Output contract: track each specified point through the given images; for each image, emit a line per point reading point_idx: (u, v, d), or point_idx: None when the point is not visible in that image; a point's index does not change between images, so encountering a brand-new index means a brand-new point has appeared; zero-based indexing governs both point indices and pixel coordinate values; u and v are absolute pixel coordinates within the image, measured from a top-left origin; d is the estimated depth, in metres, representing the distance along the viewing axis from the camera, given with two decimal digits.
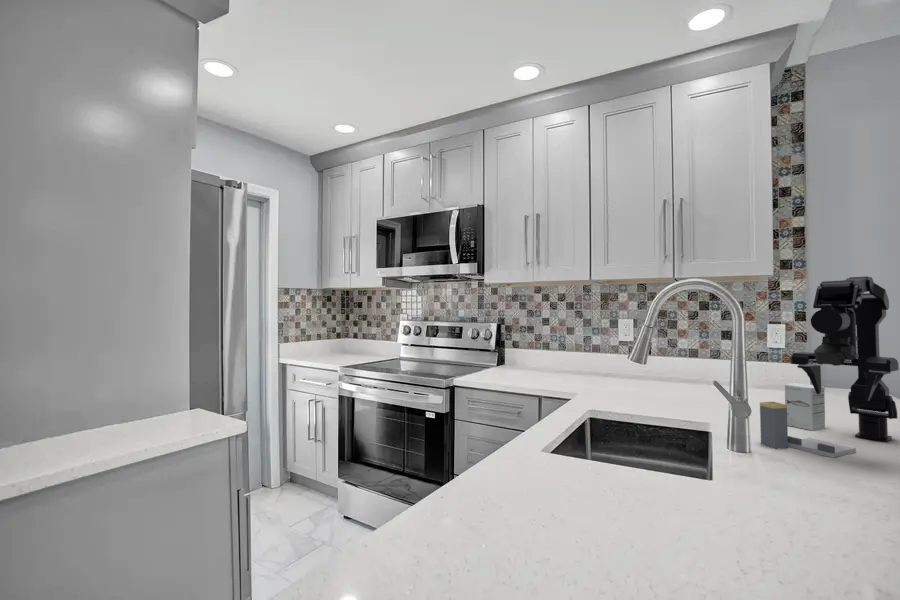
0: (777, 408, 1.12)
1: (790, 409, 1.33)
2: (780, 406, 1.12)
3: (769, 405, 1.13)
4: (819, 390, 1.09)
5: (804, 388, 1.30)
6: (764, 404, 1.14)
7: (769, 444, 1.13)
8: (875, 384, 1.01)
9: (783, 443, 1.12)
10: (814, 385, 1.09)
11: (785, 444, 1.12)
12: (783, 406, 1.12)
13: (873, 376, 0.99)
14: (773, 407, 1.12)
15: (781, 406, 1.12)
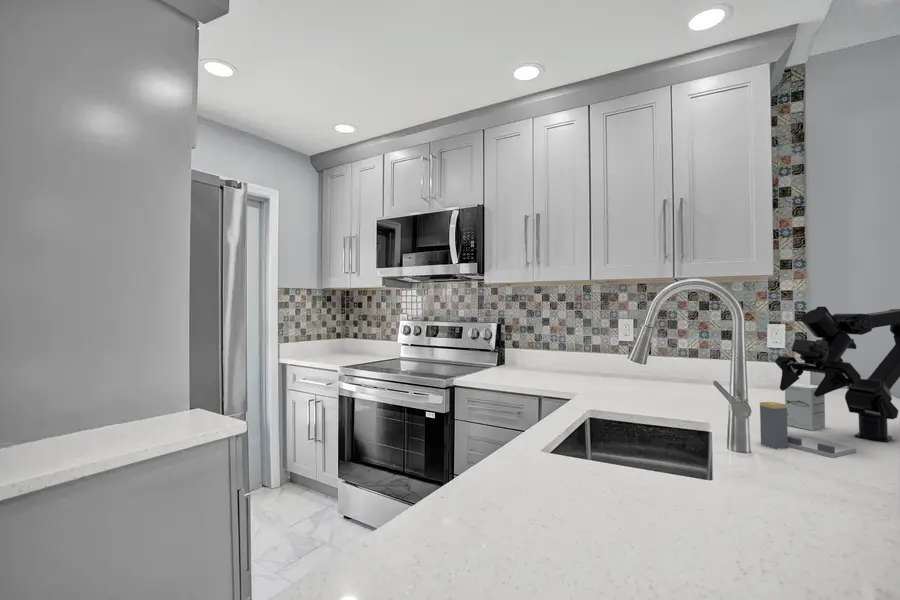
0: (777, 408, 1.12)
1: (790, 409, 1.33)
2: (780, 406, 1.12)
3: (769, 405, 1.13)
4: (783, 387, 1.20)
5: (804, 388, 1.30)
6: (764, 404, 1.14)
7: (769, 444, 1.13)
8: (830, 387, 1.11)
9: (783, 443, 1.12)
10: (782, 381, 1.21)
11: (785, 444, 1.12)
12: (783, 406, 1.12)
13: (831, 373, 1.10)
14: (773, 407, 1.12)
15: (781, 406, 1.12)
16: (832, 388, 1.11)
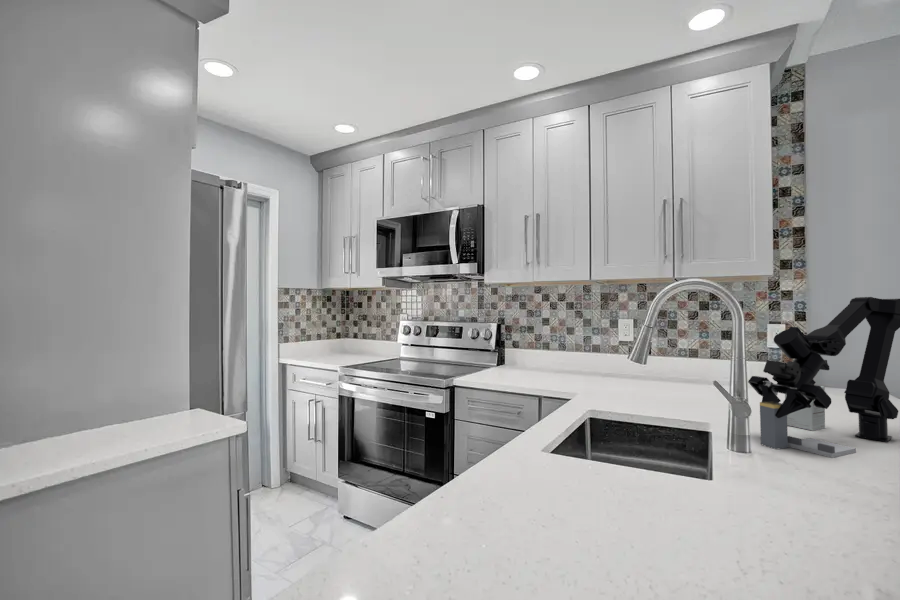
0: (777, 408, 1.12)
1: None
2: None
3: (769, 405, 1.13)
4: None
5: None
6: (764, 404, 1.14)
7: (769, 444, 1.13)
8: (791, 409, 1.11)
9: (783, 443, 1.12)
10: None
11: (785, 444, 1.12)
12: None
13: (792, 394, 1.10)
14: (773, 407, 1.12)
15: None
16: (793, 409, 1.11)
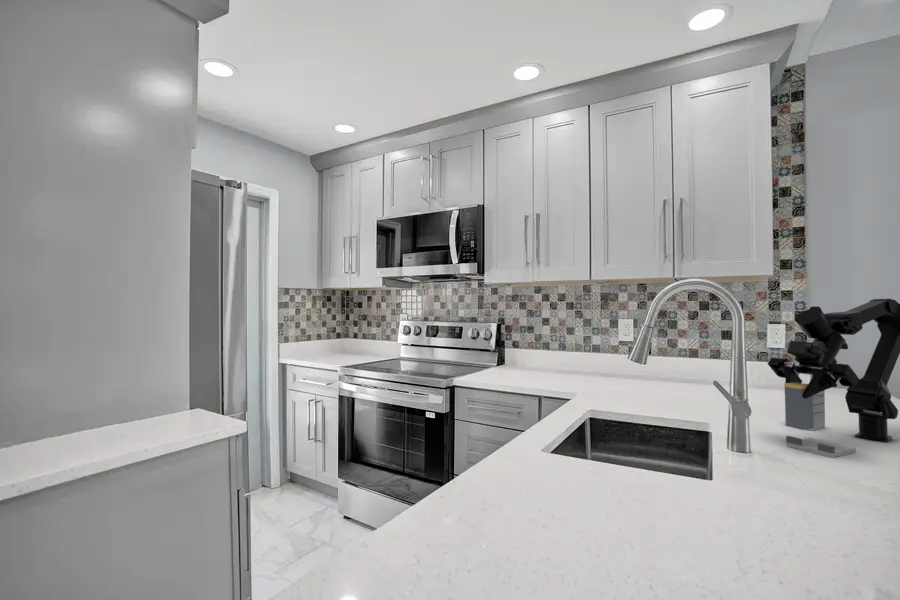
0: (803, 389, 1.10)
1: None
2: (806, 386, 1.11)
3: (795, 386, 1.11)
4: None
5: None
6: (789, 385, 1.13)
7: (796, 425, 1.11)
8: (818, 388, 1.10)
9: (810, 424, 1.11)
10: None
11: (811, 424, 1.11)
12: None
13: (818, 374, 1.09)
14: (800, 388, 1.10)
15: None
16: (819, 389, 1.10)
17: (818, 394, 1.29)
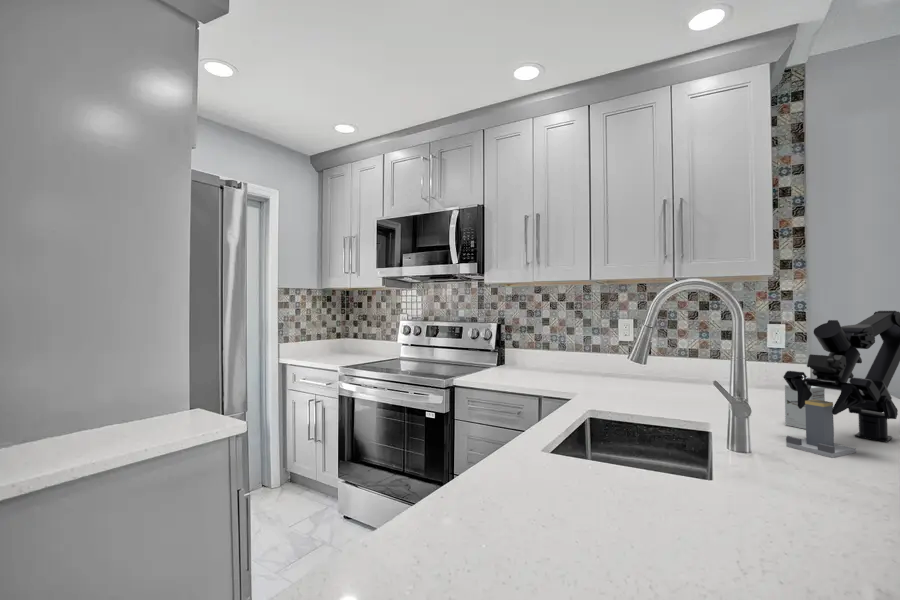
0: (826, 407, 1.09)
1: (790, 409, 1.33)
2: (828, 404, 1.09)
3: (817, 403, 1.10)
4: (801, 404, 1.14)
5: None
6: (811, 402, 1.11)
7: (817, 443, 1.10)
8: (846, 404, 1.07)
9: (831, 442, 1.09)
10: (799, 398, 1.15)
11: (832, 443, 1.10)
12: (830, 404, 1.10)
13: (848, 389, 1.07)
14: (822, 405, 1.09)
15: (829, 404, 1.09)
16: (848, 405, 1.07)
17: (818, 394, 1.29)
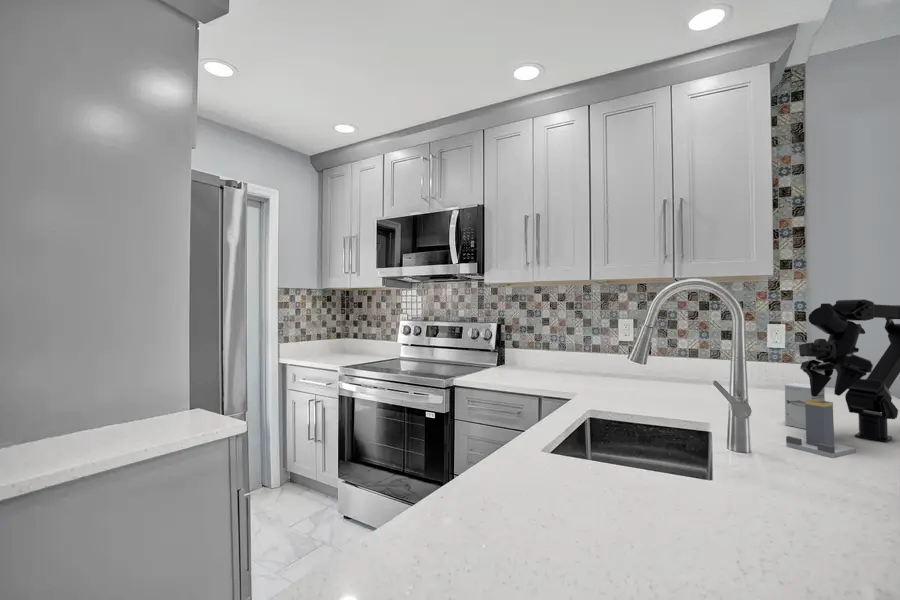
0: (826, 407, 1.09)
1: (790, 409, 1.33)
2: (828, 404, 1.09)
3: (817, 403, 1.10)
4: (814, 392, 1.20)
5: (804, 388, 1.30)
6: (811, 402, 1.11)
7: (817, 443, 1.10)
8: (848, 382, 1.10)
9: (831, 442, 1.09)
10: (811, 387, 1.21)
11: (832, 443, 1.10)
12: (830, 404, 1.10)
13: (839, 368, 1.11)
14: (822, 405, 1.09)
15: (829, 404, 1.09)
16: (850, 382, 1.10)
17: (818, 394, 1.29)
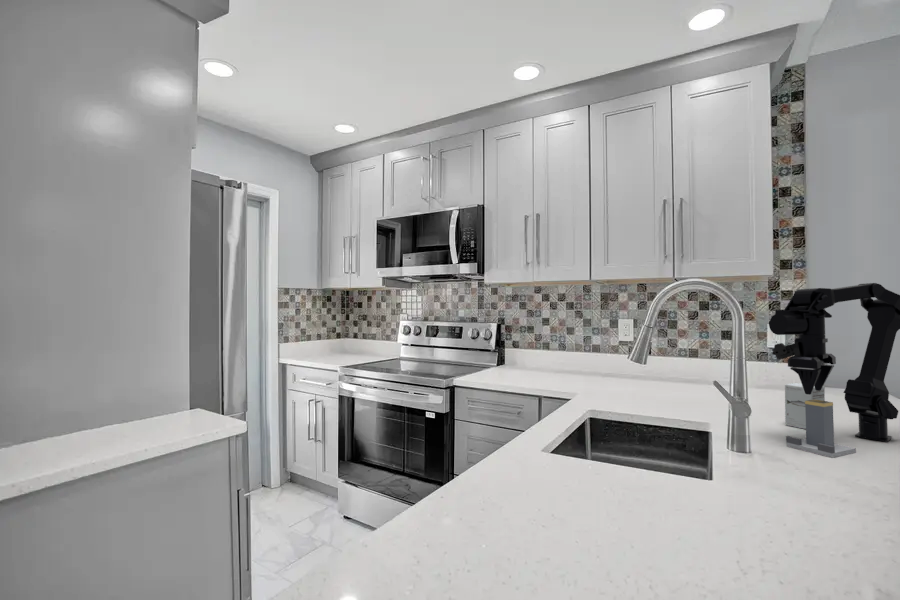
0: (826, 407, 1.09)
1: (790, 409, 1.33)
2: (828, 404, 1.09)
3: (817, 403, 1.10)
4: (817, 387, 1.21)
5: None
6: (811, 402, 1.11)
7: (817, 443, 1.10)
8: (810, 380, 1.14)
9: (831, 442, 1.09)
10: None
11: (832, 443, 1.10)
12: (830, 404, 1.10)
13: None
14: (822, 405, 1.09)
15: (829, 404, 1.09)
16: (812, 380, 1.14)
17: (818, 394, 1.29)
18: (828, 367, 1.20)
